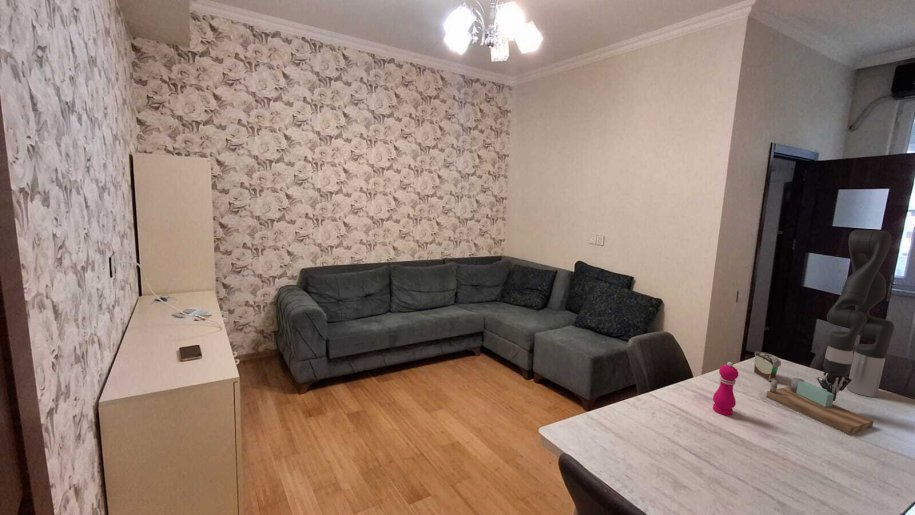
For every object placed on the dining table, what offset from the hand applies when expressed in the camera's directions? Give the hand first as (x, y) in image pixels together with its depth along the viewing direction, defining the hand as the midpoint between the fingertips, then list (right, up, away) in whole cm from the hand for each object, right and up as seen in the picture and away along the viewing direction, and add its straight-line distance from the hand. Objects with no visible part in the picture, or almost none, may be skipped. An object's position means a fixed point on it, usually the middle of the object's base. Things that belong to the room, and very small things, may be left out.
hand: (830, 400), depth 156 cm
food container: (-4, +1, +27) cm, 27 cm away
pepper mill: (-45, -3, -4) cm, 46 cm away
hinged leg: (-5, 0, +3) cm, 6 cm away
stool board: (-7, -4, -2) cm, 8 cm away
